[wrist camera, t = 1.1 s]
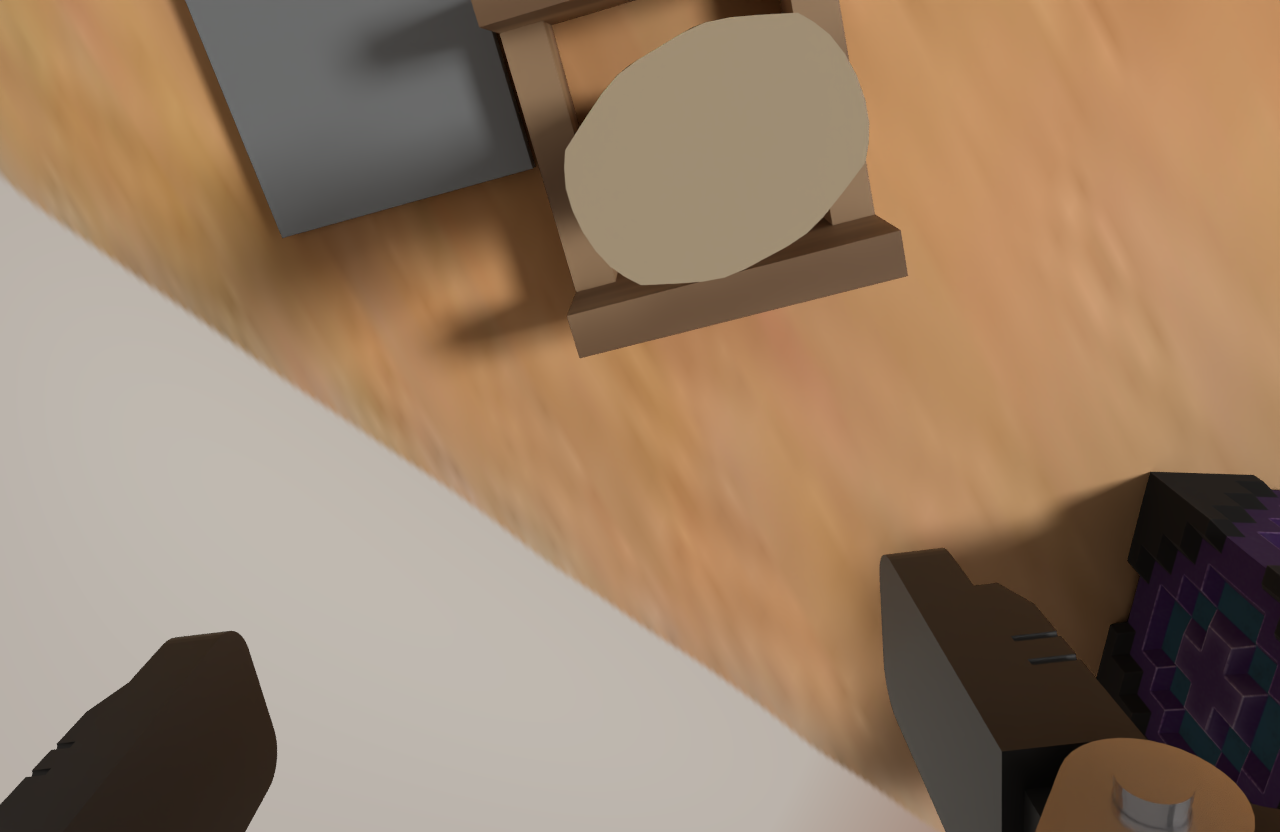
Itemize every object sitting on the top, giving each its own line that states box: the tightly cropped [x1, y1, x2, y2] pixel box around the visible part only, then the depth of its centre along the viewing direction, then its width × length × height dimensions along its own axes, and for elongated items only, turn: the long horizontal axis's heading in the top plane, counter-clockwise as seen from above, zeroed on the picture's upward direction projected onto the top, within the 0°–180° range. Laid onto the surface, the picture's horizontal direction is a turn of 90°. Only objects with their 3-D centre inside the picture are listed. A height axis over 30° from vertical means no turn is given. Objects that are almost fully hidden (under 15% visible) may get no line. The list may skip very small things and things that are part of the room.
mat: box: [185, 0, 535, 238], centre depth 31 cm, size 10×10×1 cm
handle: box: [564, 13, 869, 285], centre depth 25 cm, size 5×6×15 cm
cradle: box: [471, 0, 908, 358], centre depth 29 cm, size 12×11×6 cm
